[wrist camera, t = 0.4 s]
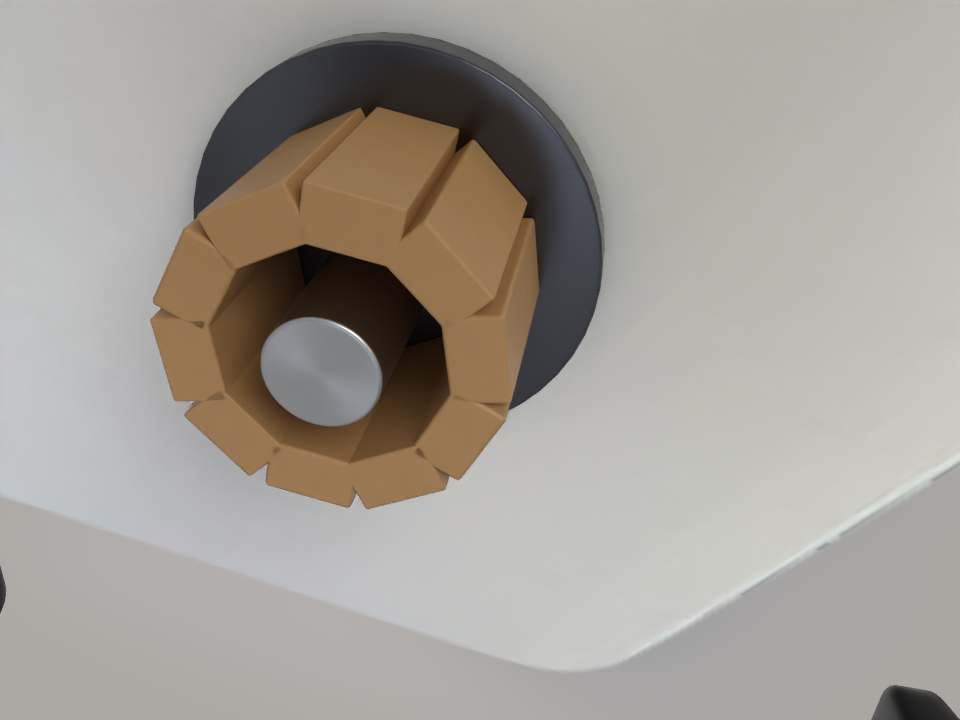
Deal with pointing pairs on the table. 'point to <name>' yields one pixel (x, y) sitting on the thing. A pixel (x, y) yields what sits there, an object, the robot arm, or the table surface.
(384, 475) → the wooden segmented ring
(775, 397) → the table surface
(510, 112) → the stand
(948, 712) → the robot arm
